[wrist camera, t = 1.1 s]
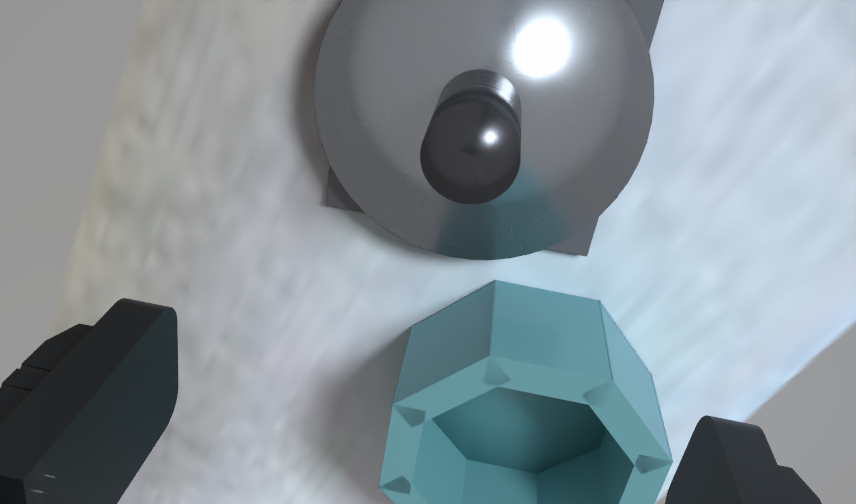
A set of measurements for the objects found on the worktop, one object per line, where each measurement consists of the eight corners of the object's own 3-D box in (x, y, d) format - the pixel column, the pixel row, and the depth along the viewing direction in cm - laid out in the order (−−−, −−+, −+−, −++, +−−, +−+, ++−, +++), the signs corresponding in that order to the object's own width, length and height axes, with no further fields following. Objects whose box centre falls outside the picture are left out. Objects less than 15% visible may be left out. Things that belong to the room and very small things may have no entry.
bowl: (422, 265, 28) (403, 337, 24) (674, 315, 28) (701, 397, 24) (389, 450, 33) (368, 539, 29) (604, 495, 33) (616, 591, 29)
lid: (336, -106, 22) (285, -99, 18) (696, -41, 22) (743, -15, 17) (309, 216, 28) (264, 288, 23) (598, 272, 27) (613, 357, 23)
